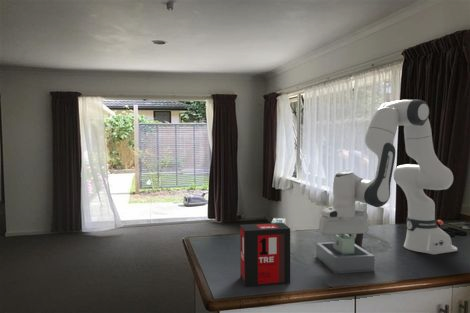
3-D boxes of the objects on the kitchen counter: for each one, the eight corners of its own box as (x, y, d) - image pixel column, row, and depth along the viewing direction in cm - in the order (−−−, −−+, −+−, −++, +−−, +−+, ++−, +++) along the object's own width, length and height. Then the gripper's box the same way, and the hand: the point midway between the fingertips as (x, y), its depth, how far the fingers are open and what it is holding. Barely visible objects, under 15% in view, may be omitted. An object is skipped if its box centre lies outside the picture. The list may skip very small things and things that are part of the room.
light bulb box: (285, 244, 175) (284, 223, 174) (271, 244, 176) (271, 222, 175) (286, 238, 185) (286, 218, 184) (273, 238, 186) (273, 217, 186)
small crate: (344, 247, 153) (344, 233, 152) (354, 253, 144) (354, 239, 144) (333, 247, 152) (333, 233, 152) (342, 254, 143) (342, 239, 143)
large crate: (350, 254, 159) (350, 241, 159) (374, 271, 140) (374, 255, 139) (316, 256, 157) (316, 242, 157) (335, 273, 137) (335, 258, 137)
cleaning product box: (245, 287, 126) (244, 230, 125) (240, 277, 135) (240, 224, 134) (290, 283, 128) (290, 228, 127) (283, 274, 137) (282, 222, 136)
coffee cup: (356, 242, 177) (356, 222, 176) (368, 247, 170) (368, 226, 169) (343, 245, 173) (343, 224, 173) (355, 249, 166) (355, 228, 166)
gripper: (363, 208, 152) (363, 241, 152) (317, 210, 149) (317, 243, 150) (371, 211, 146) (371, 245, 146) (323, 213, 143) (323, 247, 143)
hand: (343, 244), depth 148 cm, fingers closed on small crate, 5 cm apart
